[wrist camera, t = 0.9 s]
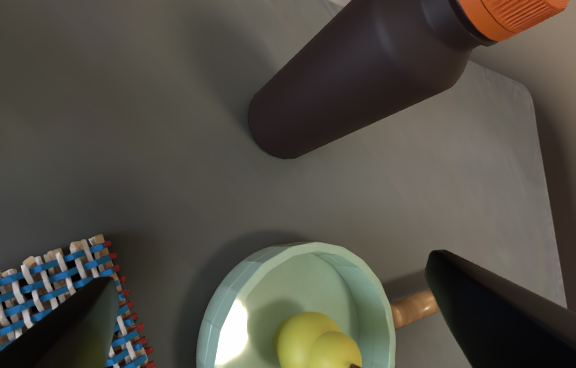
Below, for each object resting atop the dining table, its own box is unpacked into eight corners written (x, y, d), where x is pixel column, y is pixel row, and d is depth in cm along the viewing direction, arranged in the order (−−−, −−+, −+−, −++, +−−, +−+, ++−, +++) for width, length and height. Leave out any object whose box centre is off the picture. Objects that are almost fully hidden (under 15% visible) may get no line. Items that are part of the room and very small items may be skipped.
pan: (371, 398, 29) (410, 419, 25) (208, 490, 21) (230, 539, 18) (345, 231, 31) (378, 230, 27) (185, 260, 23) (201, 263, 19)
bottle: (313, 164, 30) (594, 56, 13) (245, 155, 27) (504, -5, 10) (311, 96, 31) (564, -84, 14) (246, 80, 28) (475, -182, 11)
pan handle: (458, 295, 34) (477, 298, 32) (377, 329, 28) (396, 334, 26) (454, 276, 34) (473, 278, 32) (373, 305, 28) (391, 309, 26)
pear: (323, 361, 26) (403, 402, 19) (269, 384, 24) (339, 442, 17) (314, 299, 27) (388, 318, 20) (260, 315, 24) (324, 343, 17)
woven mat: (163, 379, 21) (169, 391, 19) (-59, 515, 15) (-78, 549, 14) (108, 229, 21) (109, 228, 19) (-136, 312, 15) (-166, 320, 14)
